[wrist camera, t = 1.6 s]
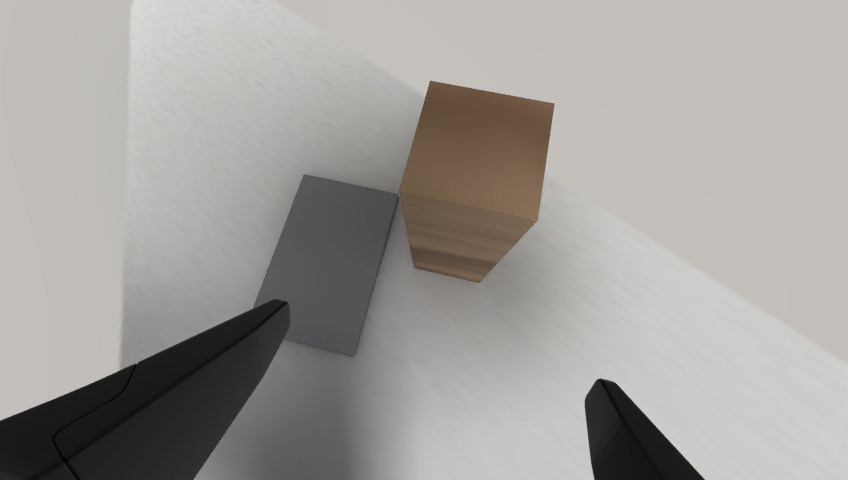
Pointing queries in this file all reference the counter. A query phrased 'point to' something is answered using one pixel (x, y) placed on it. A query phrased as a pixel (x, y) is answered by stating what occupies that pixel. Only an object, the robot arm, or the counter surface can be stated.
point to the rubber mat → (329, 261)
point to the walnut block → (473, 178)
